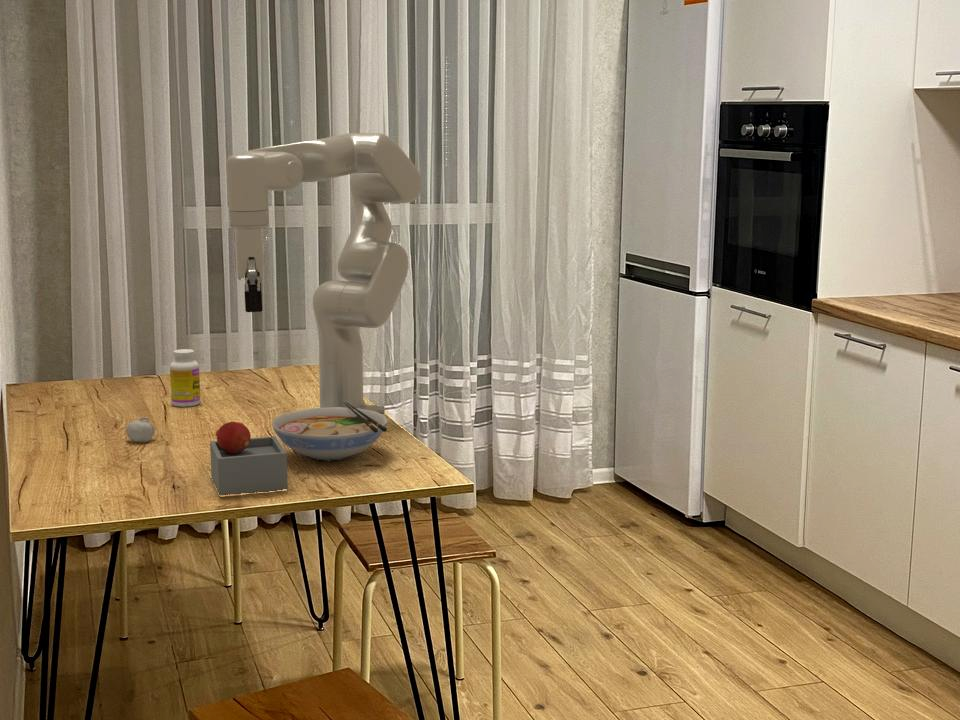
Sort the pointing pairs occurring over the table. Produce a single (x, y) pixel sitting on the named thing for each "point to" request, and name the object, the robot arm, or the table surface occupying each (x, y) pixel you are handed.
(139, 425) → the garlic
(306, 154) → the robot arm
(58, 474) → the table surface
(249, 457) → the grey hollow box
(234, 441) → the onion
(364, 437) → the ramen bowl
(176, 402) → the supplement bottle
